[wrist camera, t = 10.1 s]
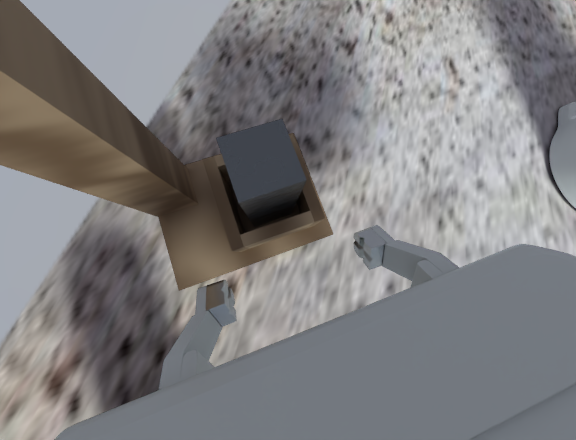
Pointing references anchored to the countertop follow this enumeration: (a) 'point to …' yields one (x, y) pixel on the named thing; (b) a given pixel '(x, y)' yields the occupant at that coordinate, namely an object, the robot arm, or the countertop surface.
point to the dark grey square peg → (263, 171)
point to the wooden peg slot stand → (129, 158)
